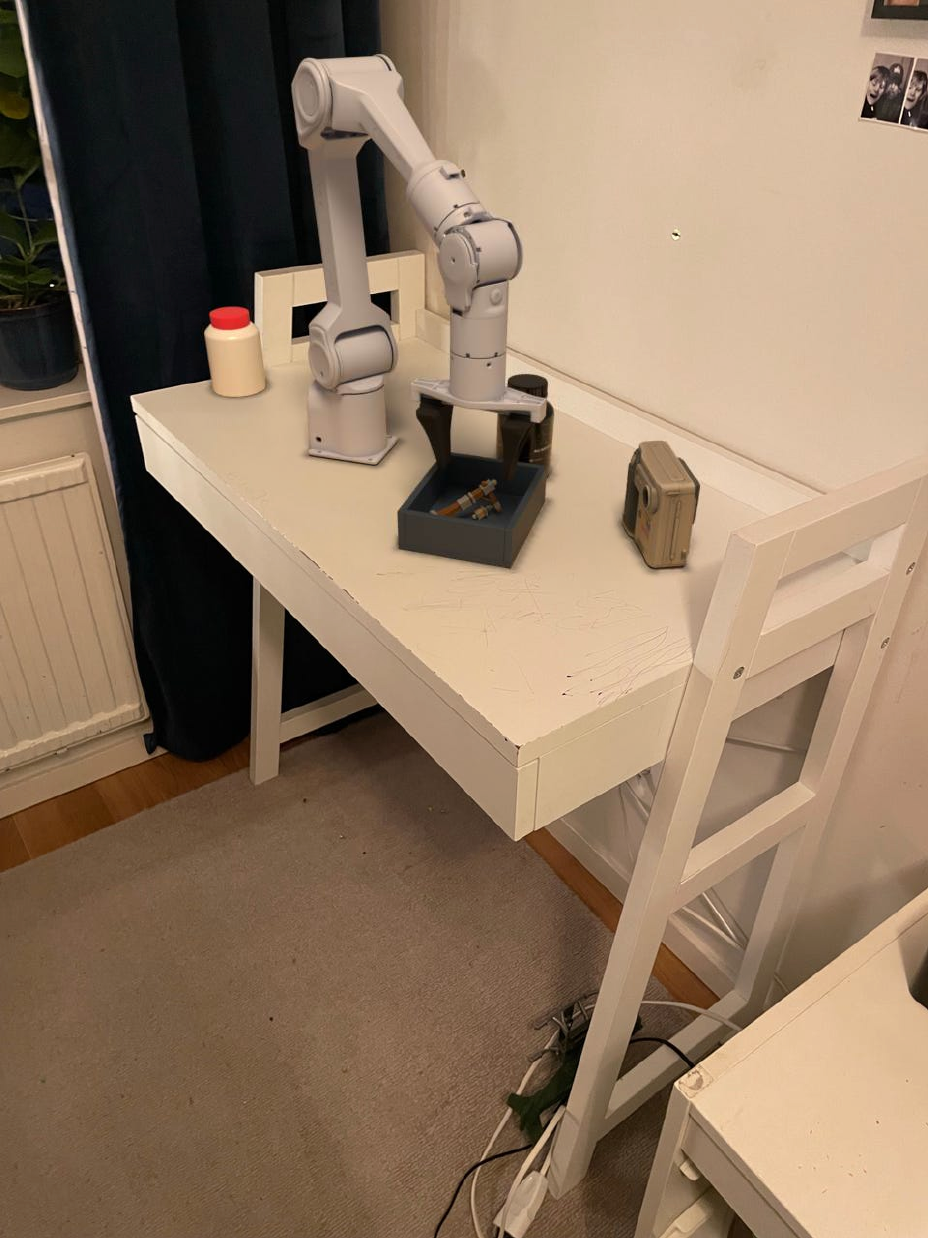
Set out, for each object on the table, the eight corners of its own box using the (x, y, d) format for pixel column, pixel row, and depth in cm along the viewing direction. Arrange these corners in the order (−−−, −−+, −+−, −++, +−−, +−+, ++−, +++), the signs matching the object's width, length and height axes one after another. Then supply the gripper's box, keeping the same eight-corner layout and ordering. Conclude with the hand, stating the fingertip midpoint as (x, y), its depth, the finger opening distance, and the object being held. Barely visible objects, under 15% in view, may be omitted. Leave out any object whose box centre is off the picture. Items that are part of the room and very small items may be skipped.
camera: (617, 519, 107) (627, 438, 101) (667, 517, 107) (679, 437, 102) (640, 572, 98) (652, 487, 92) (694, 571, 98) (709, 485, 92)
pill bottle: (260, 397, 135) (251, 321, 129) (207, 396, 135) (195, 320, 129) (270, 377, 142) (261, 304, 135) (219, 376, 142) (208, 303, 135)
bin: (398, 548, 101) (397, 511, 99) (443, 485, 113) (443, 450, 111) (510, 568, 98) (512, 530, 96) (545, 501, 110) (547, 465, 108)
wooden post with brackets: (511, 508, 106) (497, 478, 103) (451, 546, 105) (435, 517, 102) (504, 501, 107) (490, 471, 104) (445, 538, 106) (429, 509, 103)
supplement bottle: (546, 488, 113) (552, 393, 106) (490, 482, 114) (493, 388, 107) (553, 464, 118) (559, 372, 112) (500, 458, 120) (503, 367, 113)
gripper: (559, 346, 95) (550, 468, 103) (428, 327, 99) (430, 445, 107) (536, 369, 90) (529, 496, 97) (400, 348, 94) (403, 470, 102)
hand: (475, 471), depth 102 cm, fingers open, 7 cm apart
